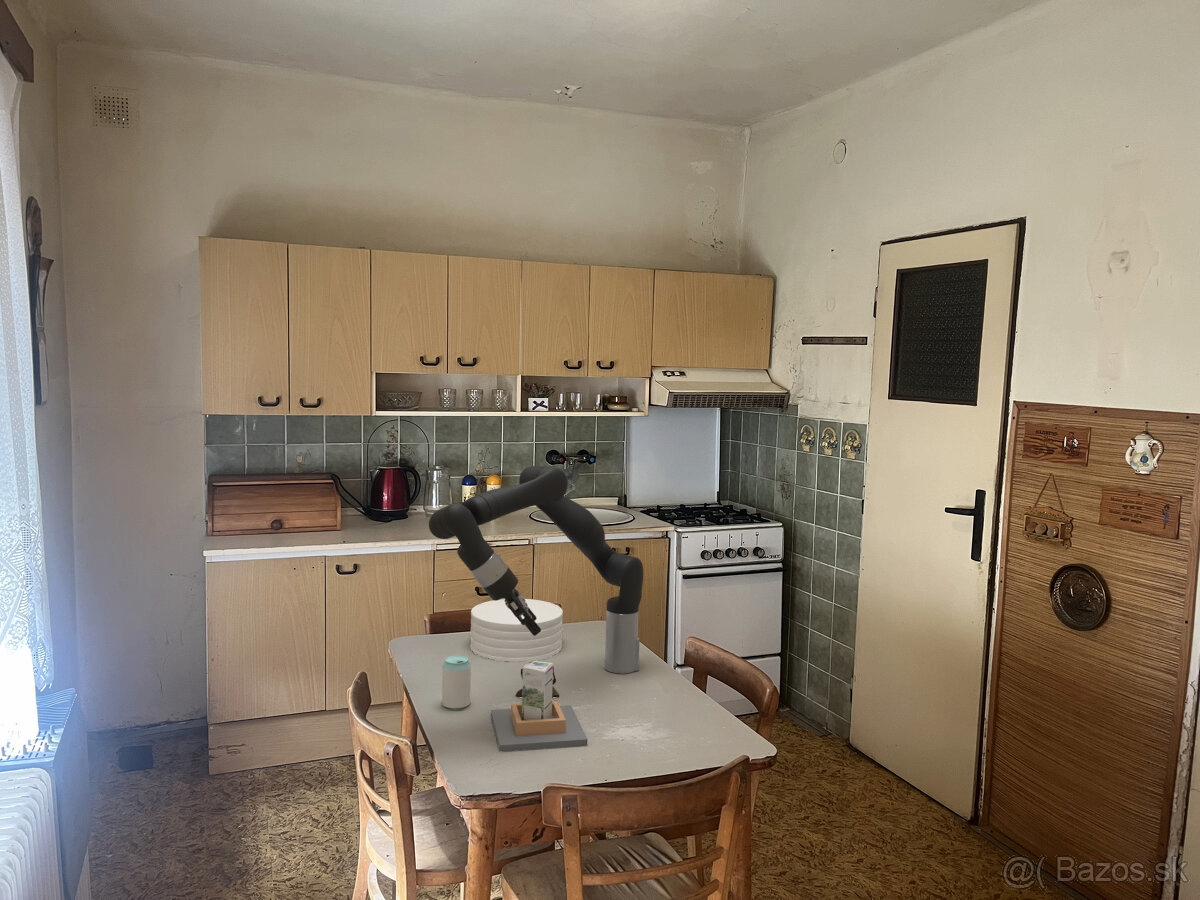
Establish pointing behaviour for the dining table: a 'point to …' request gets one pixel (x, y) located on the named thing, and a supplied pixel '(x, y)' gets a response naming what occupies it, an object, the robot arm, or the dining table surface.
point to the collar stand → (537, 729)
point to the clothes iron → (554, 692)
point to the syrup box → (537, 690)
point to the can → (456, 682)
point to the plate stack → (515, 631)
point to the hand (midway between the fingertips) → (535, 626)
